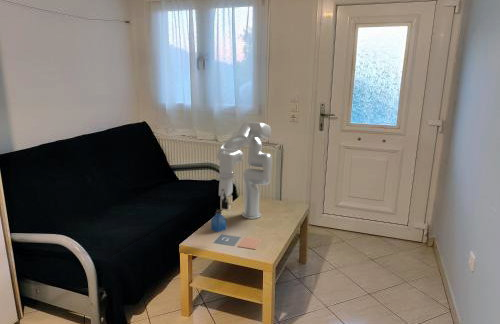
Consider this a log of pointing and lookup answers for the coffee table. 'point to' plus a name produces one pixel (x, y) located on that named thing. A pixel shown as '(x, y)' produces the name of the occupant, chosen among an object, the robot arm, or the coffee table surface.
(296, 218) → the coffee table surface
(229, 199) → the maple block
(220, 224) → the perfume bottle
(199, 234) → the coffee table surface
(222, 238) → the gray tile
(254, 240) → the pad
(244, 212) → the robot arm
